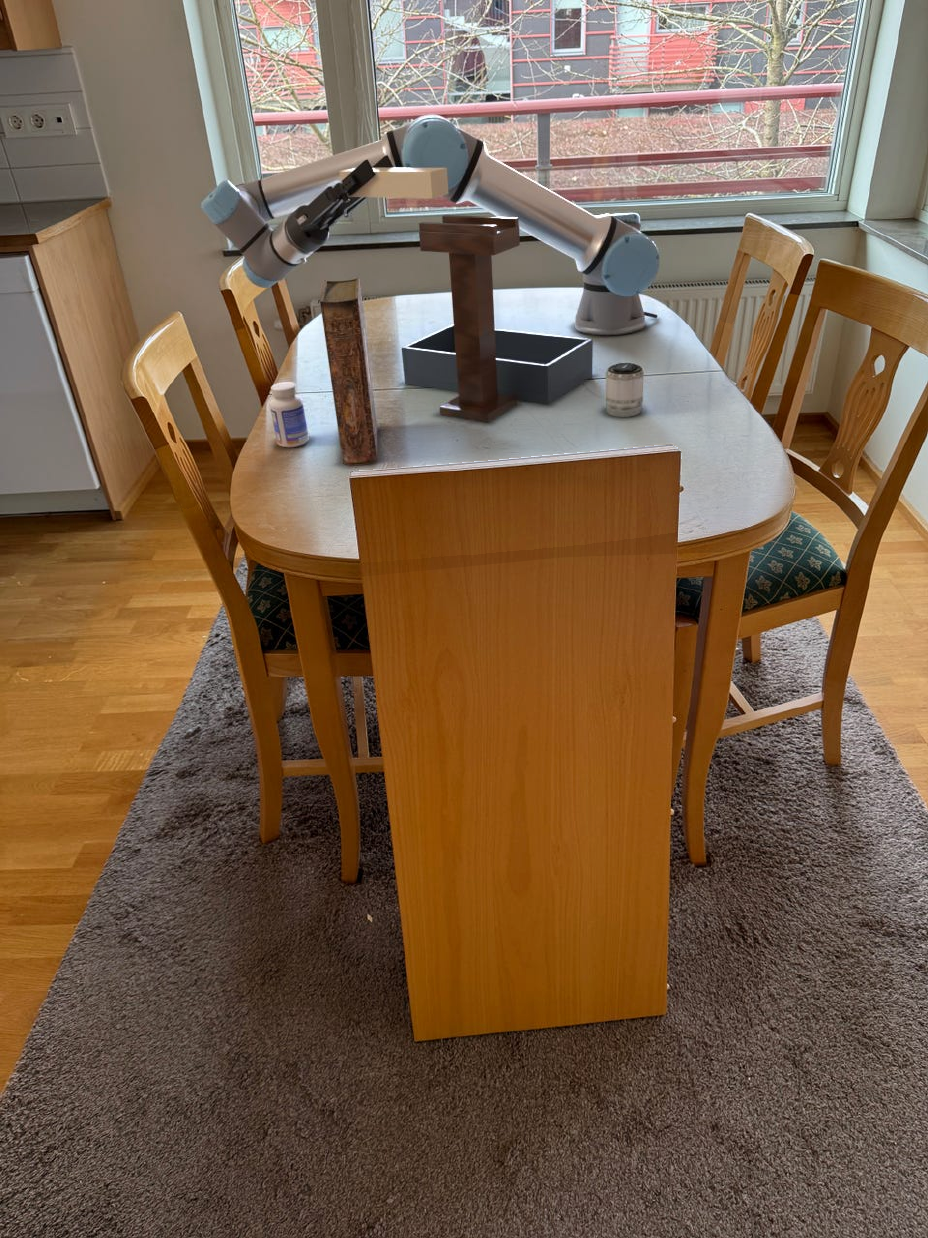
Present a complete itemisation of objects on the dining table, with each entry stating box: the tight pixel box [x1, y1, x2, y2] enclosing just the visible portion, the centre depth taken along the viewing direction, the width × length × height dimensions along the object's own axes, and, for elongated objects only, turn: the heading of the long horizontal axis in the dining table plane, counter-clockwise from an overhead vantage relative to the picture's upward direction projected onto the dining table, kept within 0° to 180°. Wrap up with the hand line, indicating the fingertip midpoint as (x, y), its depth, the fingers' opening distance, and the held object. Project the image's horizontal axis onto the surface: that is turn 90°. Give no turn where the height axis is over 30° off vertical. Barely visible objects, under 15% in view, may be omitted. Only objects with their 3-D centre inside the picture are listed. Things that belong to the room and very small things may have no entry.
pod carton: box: [340, 168, 448, 200], centre depth 155 cm, size 19×5×4 cm, turn 57°
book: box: [319, 276, 378, 466], centre depth 144 cm, size 16×6×25 cm, turn 5°
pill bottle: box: [269, 381, 310, 448], centre depth 152 cm, size 5×5×10 cm
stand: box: [418, 214, 521, 424], centre depth 153 cm, size 14×10×31 cm
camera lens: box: [605, 362, 645, 418], centre depth 154 cm, size 6×6×8 cm
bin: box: [401, 323, 594, 406], centre depth 173 cm, size 32×18×7 cm, turn 57°
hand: (380, 165), depth 154 cm, fingers closed on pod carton, 5 cm apart
